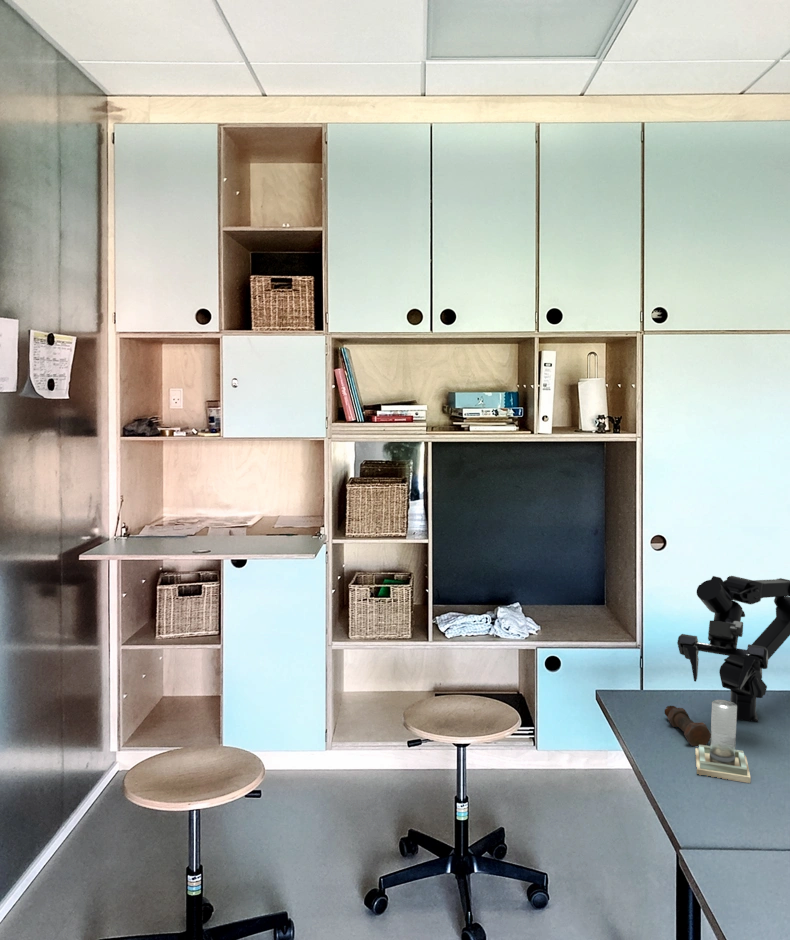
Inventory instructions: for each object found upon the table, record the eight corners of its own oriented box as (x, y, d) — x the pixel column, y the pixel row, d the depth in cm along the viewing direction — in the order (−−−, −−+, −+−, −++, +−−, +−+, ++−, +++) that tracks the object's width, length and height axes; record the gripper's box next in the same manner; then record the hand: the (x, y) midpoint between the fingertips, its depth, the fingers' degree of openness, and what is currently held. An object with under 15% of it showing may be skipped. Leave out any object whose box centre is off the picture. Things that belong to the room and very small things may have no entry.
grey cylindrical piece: (705, 756, 160) (708, 699, 159) (729, 756, 160) (731, 699, 159) (714, 767, 155) (717, 709, 154) (738, 767, 155) (741, 709, 154)
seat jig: (695, 753, 164) (695, 742, 164) (745, 760, 160) (746, 750, 160) (696, 774, 154) (697, 763, 154) (750, 783, 151) (750, 771, 151)
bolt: (672, 726, 182) (702, 752, 167) (655, 716, 182) (683, 742, 167) (685, 705, 182) (715, 730, 167) (667, 695, 182) (696, 719, 167)
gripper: (680, 600, 175) (668, 659, 167) (769, 612, 165) (761, 676, 157) (686, 624, 183) (674, 682, 174) (771, 637, 173) (763, 699, 164)
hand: (716, 684), depth 167 cm, fingers open, 9 cm apart
